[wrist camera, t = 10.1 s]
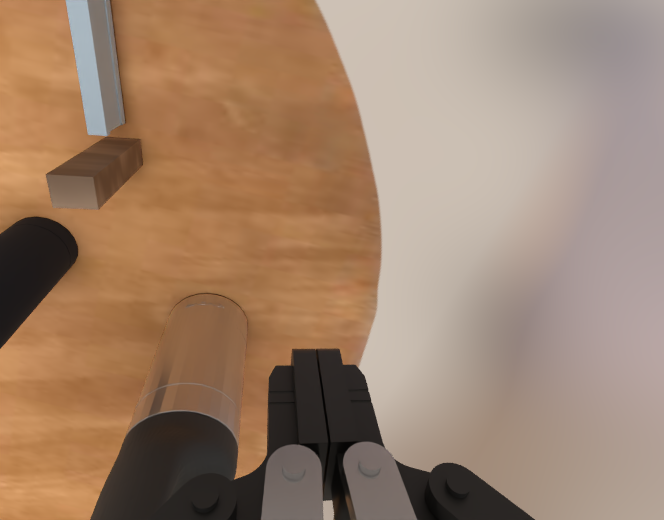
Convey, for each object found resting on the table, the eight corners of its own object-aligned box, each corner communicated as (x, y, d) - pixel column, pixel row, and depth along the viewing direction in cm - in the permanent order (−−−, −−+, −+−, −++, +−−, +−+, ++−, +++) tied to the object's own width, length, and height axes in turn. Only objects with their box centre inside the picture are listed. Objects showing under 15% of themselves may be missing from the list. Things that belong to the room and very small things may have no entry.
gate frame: (143, 164, 41) (95, 213, 30) (108, 162, 40) (46, 211, 29) (114, -114, 31) (26, -197, 20) (67, -122, 31) (-49, -210, 20)
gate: (127, 123, 39) (107, 135, 34) (111, 122, 38) (88, 134, 34) (104, -68, 32) (74, -85, 27) (84, -70, 32) (50, -89, 27)
